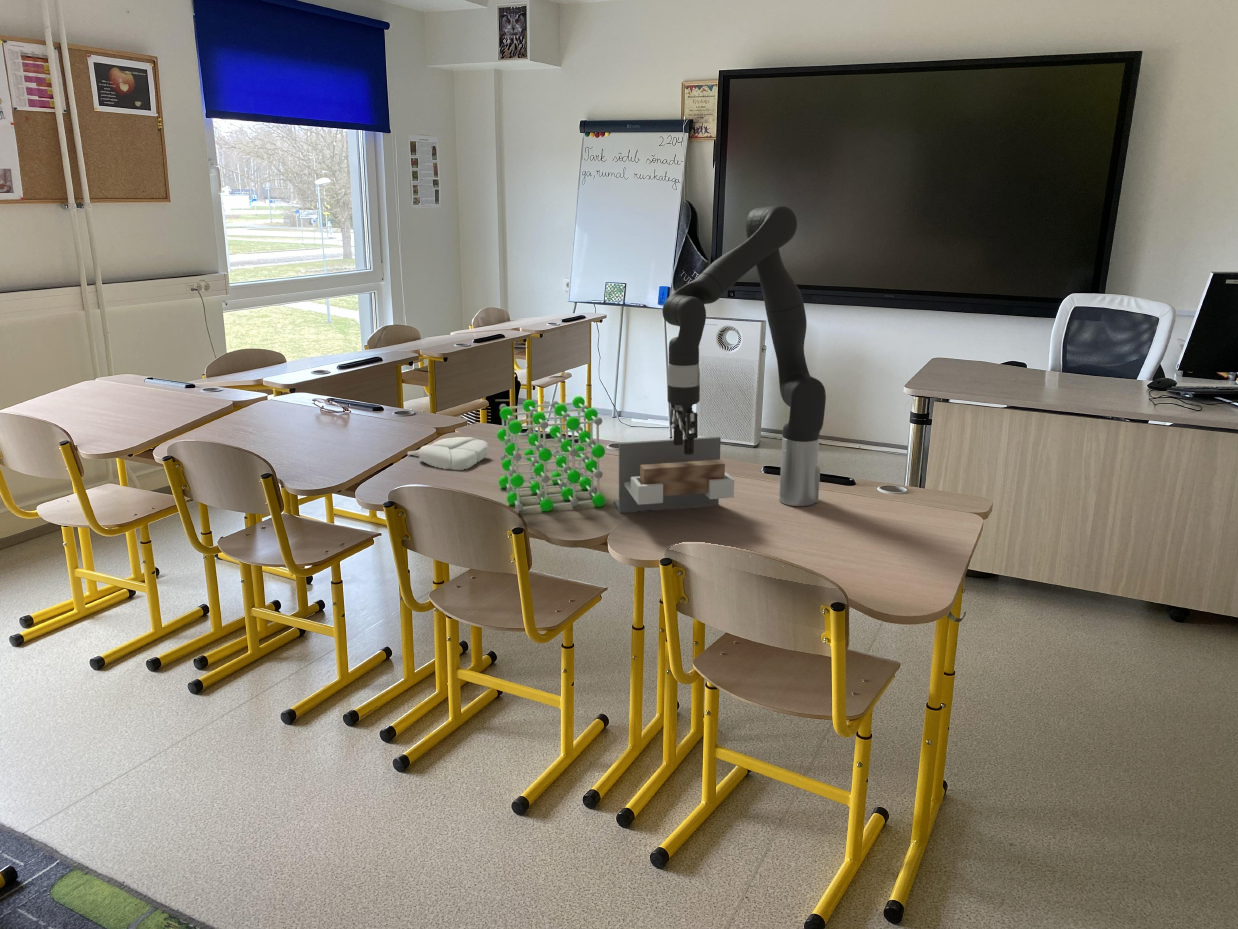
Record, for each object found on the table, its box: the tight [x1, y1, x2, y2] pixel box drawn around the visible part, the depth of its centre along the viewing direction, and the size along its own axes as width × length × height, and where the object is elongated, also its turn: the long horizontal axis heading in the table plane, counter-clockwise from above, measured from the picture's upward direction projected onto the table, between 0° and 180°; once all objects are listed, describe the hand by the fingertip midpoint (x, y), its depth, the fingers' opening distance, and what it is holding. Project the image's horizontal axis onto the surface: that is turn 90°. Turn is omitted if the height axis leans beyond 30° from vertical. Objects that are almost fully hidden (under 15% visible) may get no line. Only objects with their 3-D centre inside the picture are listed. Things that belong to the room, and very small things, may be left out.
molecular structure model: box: [496, 395, 606, 512], centre depth 239 cm, size 24×25×24 cm
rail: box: [640, 459, 726, 496], centre depth 220 cm, size 20×4×7 cm, turn 103°
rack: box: [613, 436, 735, 514], centre depth 227 cm, size 26×21×18 cm
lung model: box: [407, 436, 490, 471], centre depth 274 cm, size 7×17×25 cm
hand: (683, 449), depth 217 cm, fingers open, 8 cm apart
